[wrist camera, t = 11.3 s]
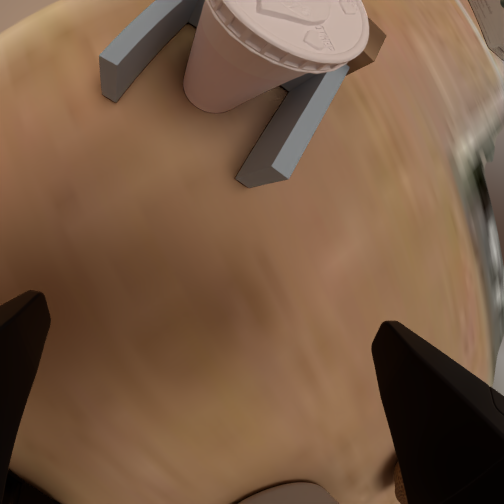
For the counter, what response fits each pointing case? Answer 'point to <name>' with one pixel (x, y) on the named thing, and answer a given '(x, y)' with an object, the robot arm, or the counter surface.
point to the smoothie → (268, 46)
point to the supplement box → (491, 23)
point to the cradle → (281, 125)
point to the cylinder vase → (292, 495)
